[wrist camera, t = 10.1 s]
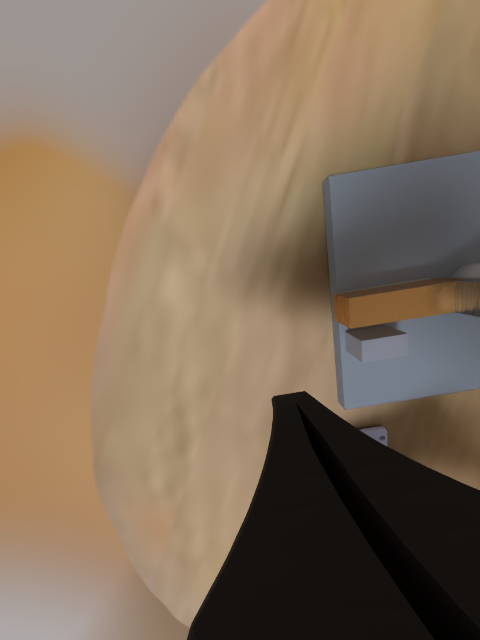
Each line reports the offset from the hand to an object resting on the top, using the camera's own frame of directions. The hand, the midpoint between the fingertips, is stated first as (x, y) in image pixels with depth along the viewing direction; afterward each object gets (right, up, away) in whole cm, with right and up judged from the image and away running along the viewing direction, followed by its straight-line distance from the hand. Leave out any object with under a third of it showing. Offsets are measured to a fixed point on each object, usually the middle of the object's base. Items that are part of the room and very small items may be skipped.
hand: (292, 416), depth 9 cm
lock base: (+15, +7, +10) cm, 19 cm away
